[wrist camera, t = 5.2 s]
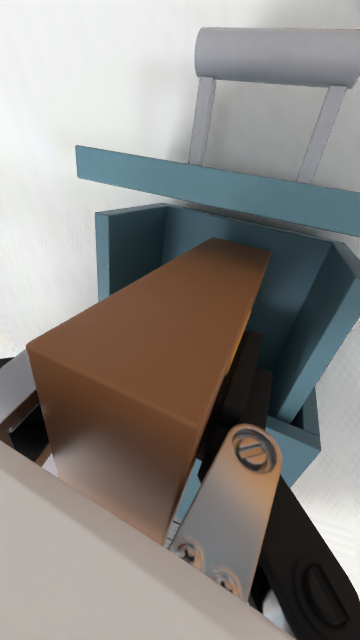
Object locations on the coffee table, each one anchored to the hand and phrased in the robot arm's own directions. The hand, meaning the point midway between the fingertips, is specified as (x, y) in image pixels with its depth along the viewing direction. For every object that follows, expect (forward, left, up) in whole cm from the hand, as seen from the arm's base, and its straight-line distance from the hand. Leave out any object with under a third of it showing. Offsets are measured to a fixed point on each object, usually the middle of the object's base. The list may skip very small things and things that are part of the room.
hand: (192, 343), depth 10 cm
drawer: (0, -2, -10) cm, 10 cm away
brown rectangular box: (0, 0, -6) cm, 6 cm away
